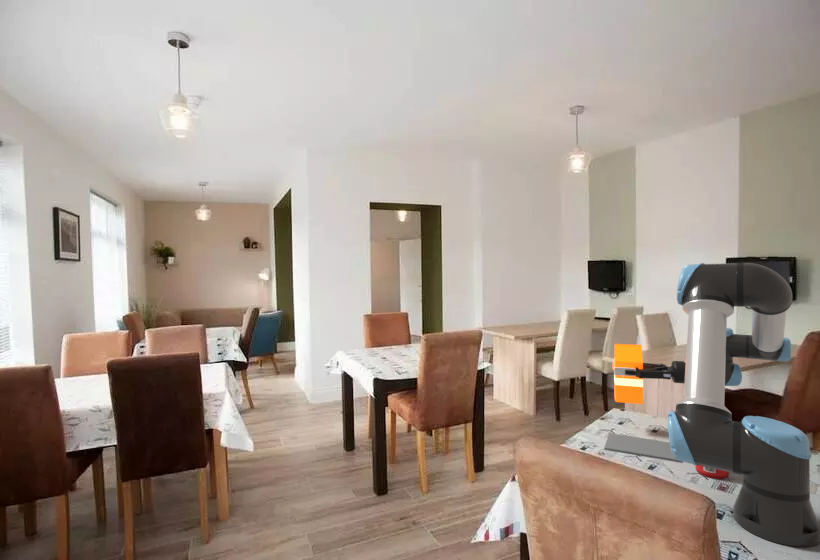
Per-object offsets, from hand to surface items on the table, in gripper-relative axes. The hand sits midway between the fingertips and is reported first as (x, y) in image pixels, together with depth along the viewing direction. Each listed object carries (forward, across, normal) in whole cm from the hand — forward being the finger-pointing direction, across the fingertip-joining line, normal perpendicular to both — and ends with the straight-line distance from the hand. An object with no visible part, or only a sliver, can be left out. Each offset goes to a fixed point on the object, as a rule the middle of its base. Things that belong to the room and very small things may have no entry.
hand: (613, 368), depth 161 cm
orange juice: (-5, 0, -11) cm, 12 cm away
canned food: (-23, -30, -22) cm, 43 cm away
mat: (-7, -16, -22) cm, 28 cm away
